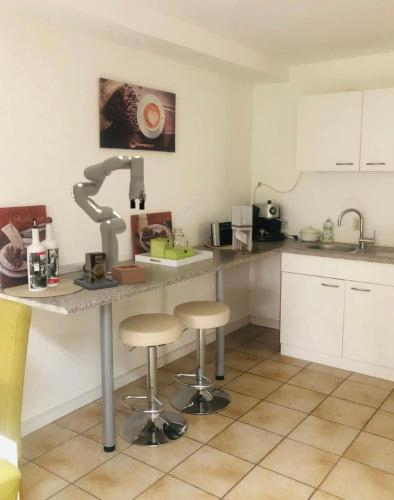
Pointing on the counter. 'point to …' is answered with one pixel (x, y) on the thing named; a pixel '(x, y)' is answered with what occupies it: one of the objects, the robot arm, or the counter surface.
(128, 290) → the counter surface
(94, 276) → the coffee box
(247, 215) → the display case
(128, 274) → the terracotta open box
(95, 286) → the tray
